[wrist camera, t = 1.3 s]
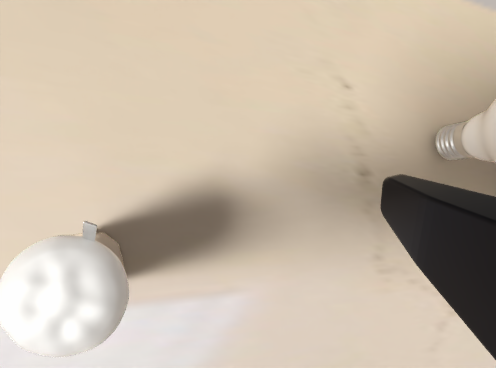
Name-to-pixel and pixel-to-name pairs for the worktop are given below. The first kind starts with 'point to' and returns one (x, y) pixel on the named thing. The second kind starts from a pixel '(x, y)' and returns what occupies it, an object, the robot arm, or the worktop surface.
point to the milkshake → (64, 293)
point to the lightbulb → (470, 138)
